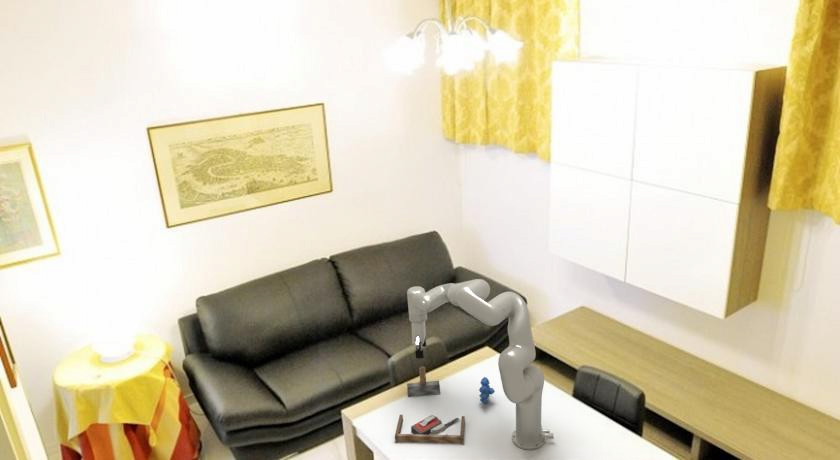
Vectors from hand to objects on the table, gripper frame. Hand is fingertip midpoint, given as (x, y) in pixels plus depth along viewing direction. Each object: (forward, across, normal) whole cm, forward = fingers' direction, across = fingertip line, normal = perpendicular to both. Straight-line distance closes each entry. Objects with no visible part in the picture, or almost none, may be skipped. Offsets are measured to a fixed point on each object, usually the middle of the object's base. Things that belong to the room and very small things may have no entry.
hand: (421, 352), depth 261 cm
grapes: (+22, +6, +27) cm, 35 cm away
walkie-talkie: (+22, +22, +6) cm, 32 cm away
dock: (+21, +25, +5) cm, 33 cm away
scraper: (+21, 0, 0) cm, 21 cm away
